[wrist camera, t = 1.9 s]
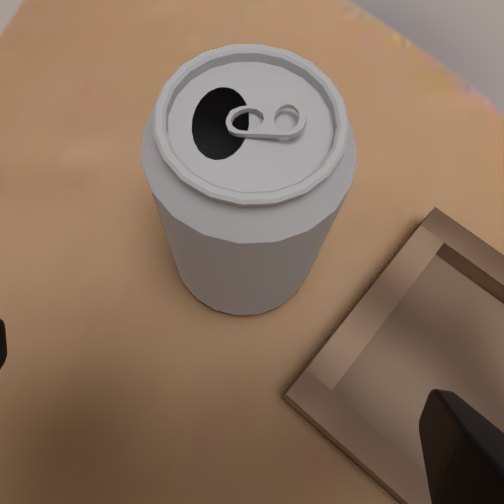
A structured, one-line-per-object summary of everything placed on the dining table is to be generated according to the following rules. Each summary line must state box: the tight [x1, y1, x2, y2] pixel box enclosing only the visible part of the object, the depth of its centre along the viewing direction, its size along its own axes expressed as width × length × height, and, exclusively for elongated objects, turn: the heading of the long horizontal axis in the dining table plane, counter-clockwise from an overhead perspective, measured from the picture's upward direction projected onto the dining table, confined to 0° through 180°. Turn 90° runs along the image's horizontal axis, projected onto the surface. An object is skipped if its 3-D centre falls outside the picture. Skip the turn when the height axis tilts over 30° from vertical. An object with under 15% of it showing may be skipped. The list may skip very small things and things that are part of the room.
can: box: [141, 44, 357, 315], centre depth 19 cm, size 8×8×12 cm
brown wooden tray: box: [282, 207, 504, 504], centre depth 22 cm, size 13×13×2 cm
